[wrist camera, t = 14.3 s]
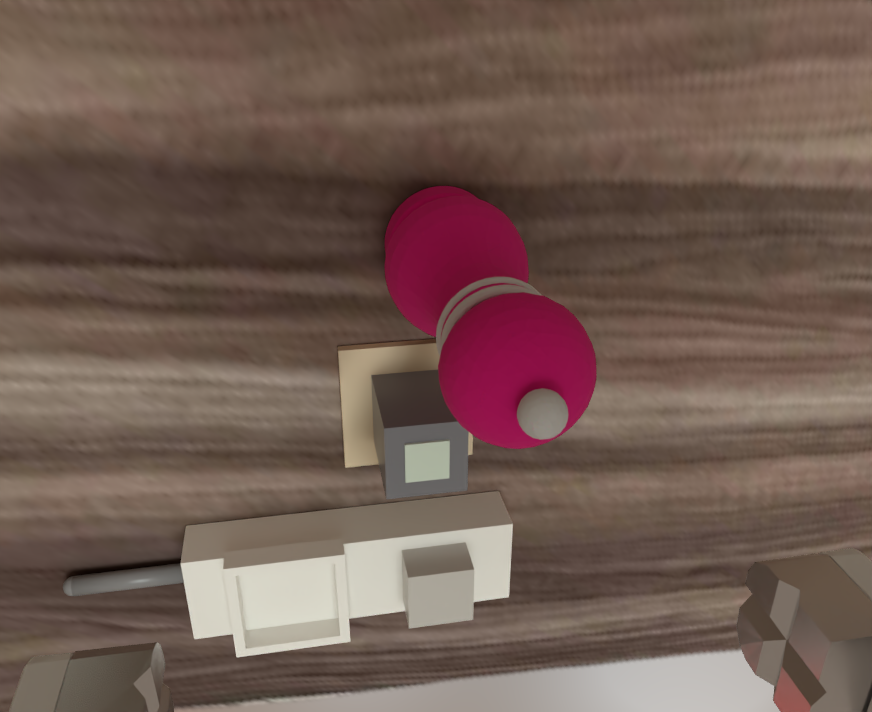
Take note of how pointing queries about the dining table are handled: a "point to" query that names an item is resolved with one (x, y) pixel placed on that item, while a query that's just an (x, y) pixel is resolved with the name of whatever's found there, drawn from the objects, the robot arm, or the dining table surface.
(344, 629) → the power strip
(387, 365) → the coaster
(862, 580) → the robot arm
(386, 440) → the block
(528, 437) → the pepper mill
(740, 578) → the dining table surface
